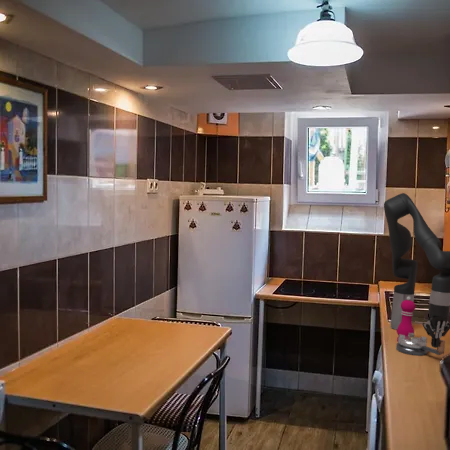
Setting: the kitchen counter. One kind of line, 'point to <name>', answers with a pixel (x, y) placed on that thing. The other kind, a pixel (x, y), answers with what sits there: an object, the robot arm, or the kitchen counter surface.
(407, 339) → the crank handle
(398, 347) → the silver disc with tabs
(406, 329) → the pepper mill
